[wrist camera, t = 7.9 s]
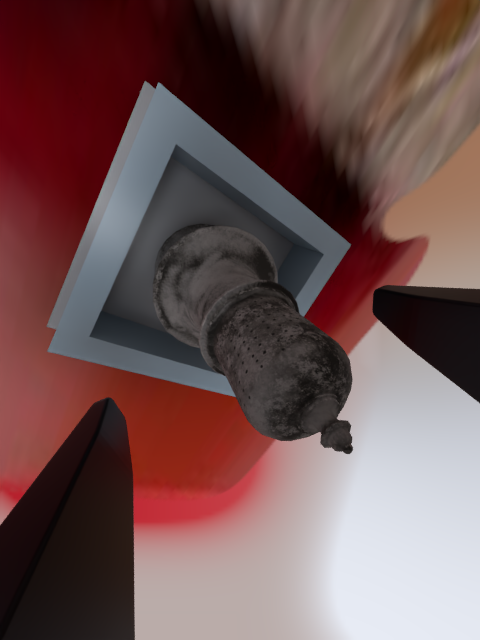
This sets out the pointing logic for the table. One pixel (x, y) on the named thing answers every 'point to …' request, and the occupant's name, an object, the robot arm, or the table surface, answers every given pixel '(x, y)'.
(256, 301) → the grey stone tall figure
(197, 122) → the holder
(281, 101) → the table surface
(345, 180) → the table surface
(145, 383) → the table surface
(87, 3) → the table surface
